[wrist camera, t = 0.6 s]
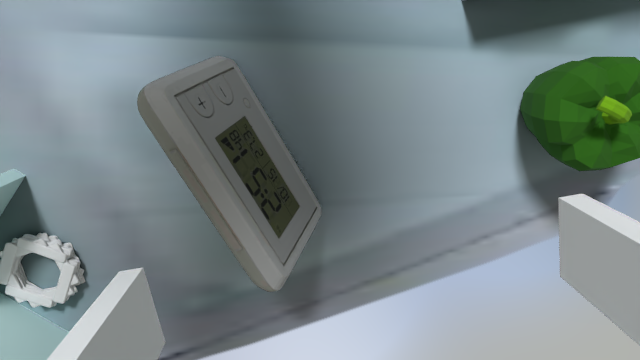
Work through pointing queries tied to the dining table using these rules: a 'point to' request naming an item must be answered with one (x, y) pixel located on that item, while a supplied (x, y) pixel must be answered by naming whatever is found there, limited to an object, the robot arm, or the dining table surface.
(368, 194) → the dining table surface
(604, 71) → the bell pepper
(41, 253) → the l-shaped corner panel
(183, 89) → the digital clock
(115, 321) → the robot arm
